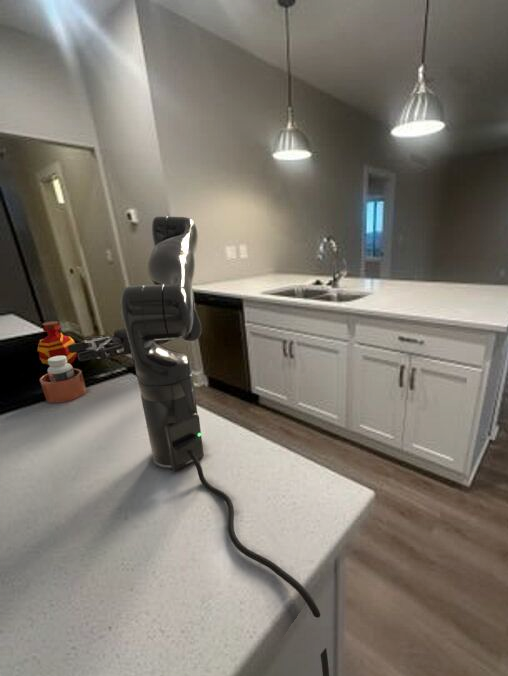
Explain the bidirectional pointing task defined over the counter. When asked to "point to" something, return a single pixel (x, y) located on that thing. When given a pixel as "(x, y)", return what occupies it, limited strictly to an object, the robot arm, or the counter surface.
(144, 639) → the counter surface
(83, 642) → the counter surface
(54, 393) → the pot
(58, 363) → the pill bottle
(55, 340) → the potion bottle
